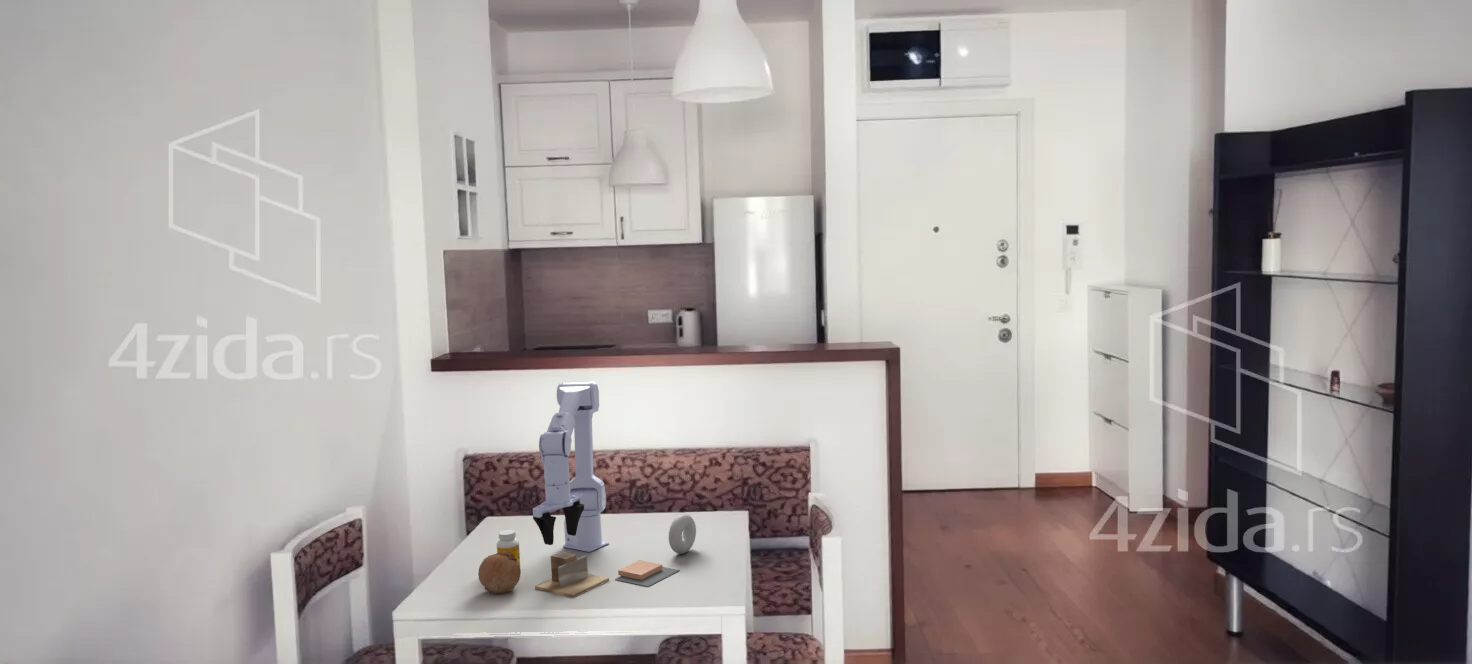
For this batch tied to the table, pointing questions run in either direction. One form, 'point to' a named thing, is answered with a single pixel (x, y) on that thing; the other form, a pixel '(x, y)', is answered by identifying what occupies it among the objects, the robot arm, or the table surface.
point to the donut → (675, 533)
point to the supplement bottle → (508, 543)
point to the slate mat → (650, 577)
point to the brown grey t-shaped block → (568, 568)
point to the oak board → (573, 585)
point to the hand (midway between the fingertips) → (560, 539)
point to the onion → (499, 572)
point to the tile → (640, 570)
